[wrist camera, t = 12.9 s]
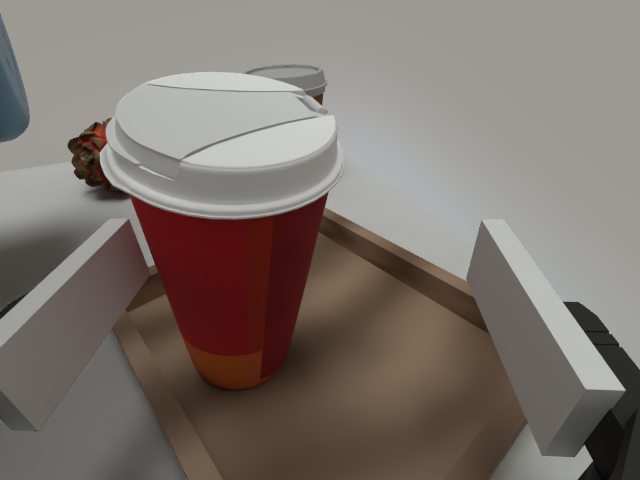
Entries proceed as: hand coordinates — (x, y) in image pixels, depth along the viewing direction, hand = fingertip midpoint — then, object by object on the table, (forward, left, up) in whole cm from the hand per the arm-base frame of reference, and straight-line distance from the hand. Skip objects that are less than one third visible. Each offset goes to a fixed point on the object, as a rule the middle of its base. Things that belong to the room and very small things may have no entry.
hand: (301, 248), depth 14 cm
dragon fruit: (-38, +1, -10) cm, 39 cm away
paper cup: (-5, -2, -9) cm, 10 cm away
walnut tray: (-3, +2, -10) cm, 11 cm away
